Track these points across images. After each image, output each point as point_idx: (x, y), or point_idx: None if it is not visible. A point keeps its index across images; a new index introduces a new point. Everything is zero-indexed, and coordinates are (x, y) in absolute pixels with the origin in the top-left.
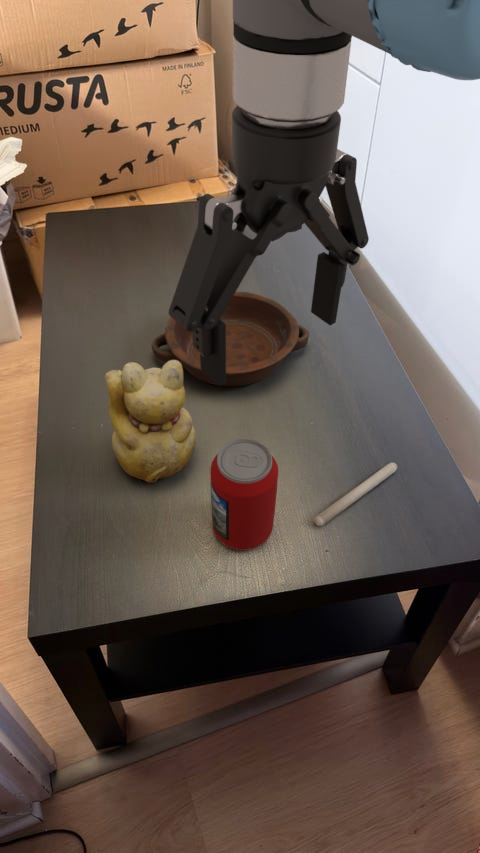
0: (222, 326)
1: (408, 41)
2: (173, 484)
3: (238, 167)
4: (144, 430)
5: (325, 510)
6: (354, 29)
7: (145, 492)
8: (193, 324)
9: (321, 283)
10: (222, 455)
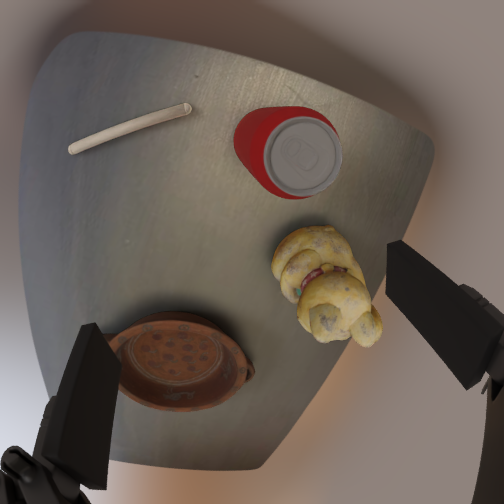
0: (496, 331)
1: None
2: (303, 219)
3: None
4: (350, 269)
5: (174, 116)
6: None
7: (330, 221)
8: None
9: (99, 420)
10: (325, 180)
